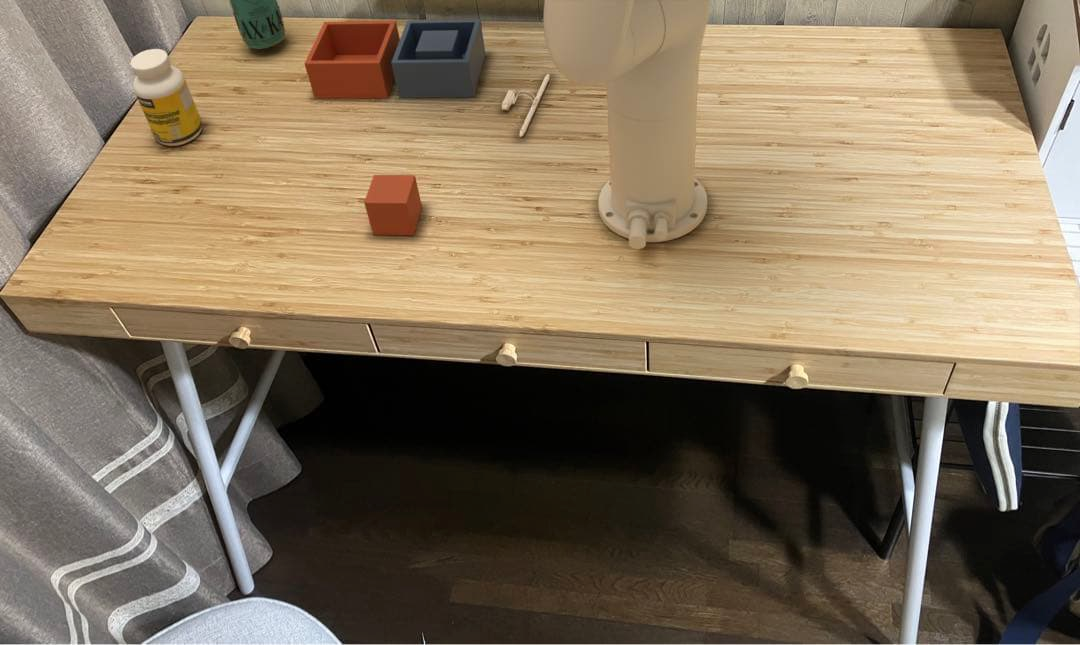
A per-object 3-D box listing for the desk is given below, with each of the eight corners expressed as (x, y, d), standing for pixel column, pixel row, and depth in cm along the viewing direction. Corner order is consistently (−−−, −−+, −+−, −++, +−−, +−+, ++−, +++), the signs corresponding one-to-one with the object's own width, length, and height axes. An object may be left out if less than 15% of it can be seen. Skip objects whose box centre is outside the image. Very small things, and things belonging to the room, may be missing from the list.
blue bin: (474, 97, 136) (468, 61, 132) (399, 98, 137) (391, 62, 133) (485, 54, 143) (480, 19, 139) (414, 55, 144) (407, 20, 140)
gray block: (457, 82, 138) (451, 50, 134) (421, 82, 138) (415, 51, 135) (463, 61, 141) (458, 30, 137) (428, 62, 142) (422, 30, 138)
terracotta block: (414, 235, 118) (406, 203, 114) (372, 235, 119) (363, 202, 115) (422, 207, 121) (415, 174, 118) (382, 206, 122) (373, 174, 118)
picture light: (523, 139, 129) (521, 125, 127) (490, 136, 130) (488, 122, 128) (551, 76, 138) (550, 63, 136) (521, 74, 139) (519, 60, 137)
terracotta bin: (387, 98, 137) (379, 62, 133) (314, 98, 139) (304, 63, 135) (403, 55, 144) (395, 20, 140) (333, 56, 146) (324, 21, 142)
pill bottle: (146, 142, 135) (111, 68, 127) (176, 115, 139) (145, 41, 131) (183, 152, 133) (151, 77, 125) (213, 124, 137) (184, 49, 128)
